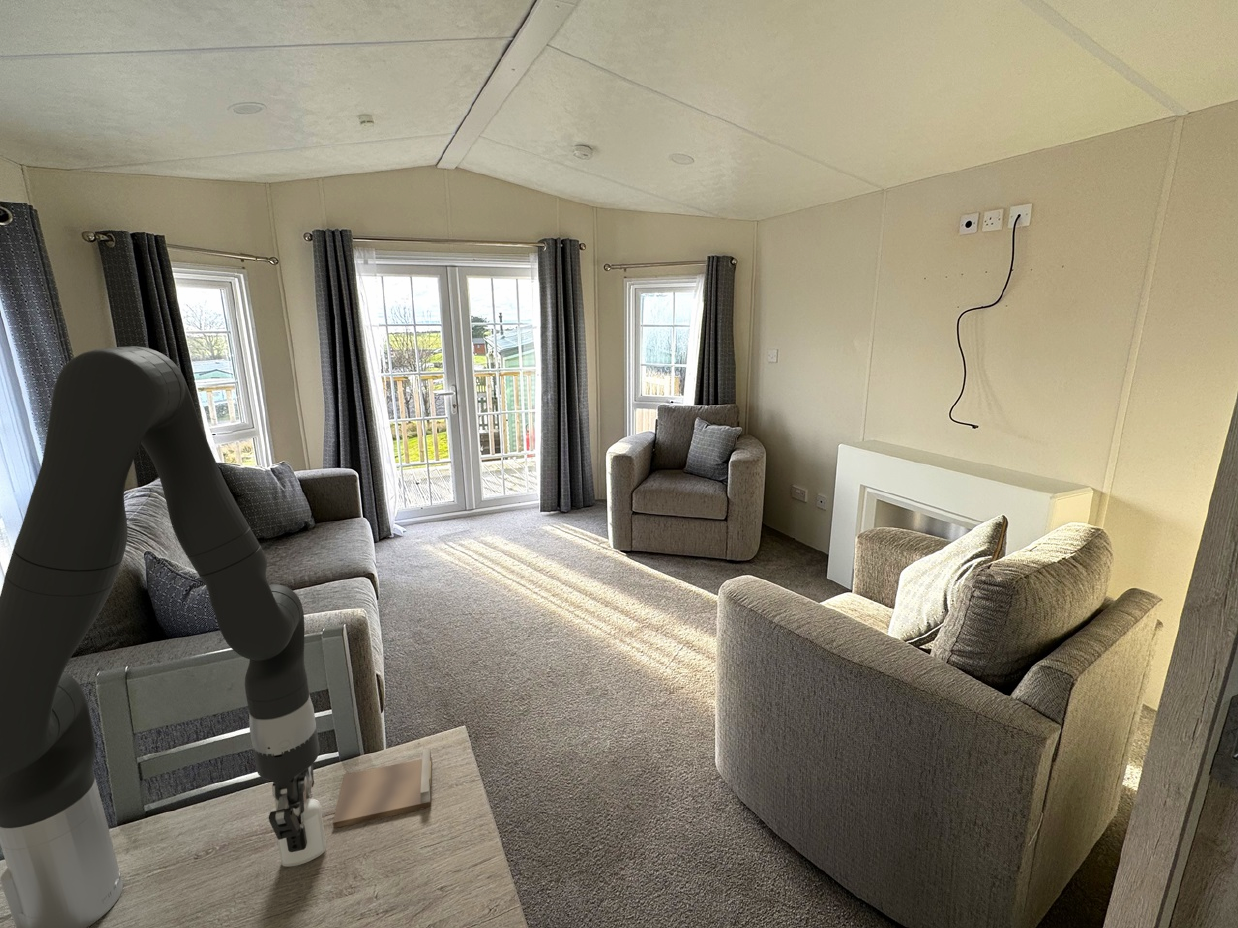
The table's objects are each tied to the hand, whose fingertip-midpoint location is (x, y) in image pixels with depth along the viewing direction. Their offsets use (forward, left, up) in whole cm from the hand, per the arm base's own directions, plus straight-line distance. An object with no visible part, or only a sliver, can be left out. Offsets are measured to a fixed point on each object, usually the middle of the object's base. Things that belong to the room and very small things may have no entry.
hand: (301, 836), depth 83 cm
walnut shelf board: (+10, +9, -3) cm, 14 cm away
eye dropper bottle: (0, 0, -3) cm, 3 cm away
